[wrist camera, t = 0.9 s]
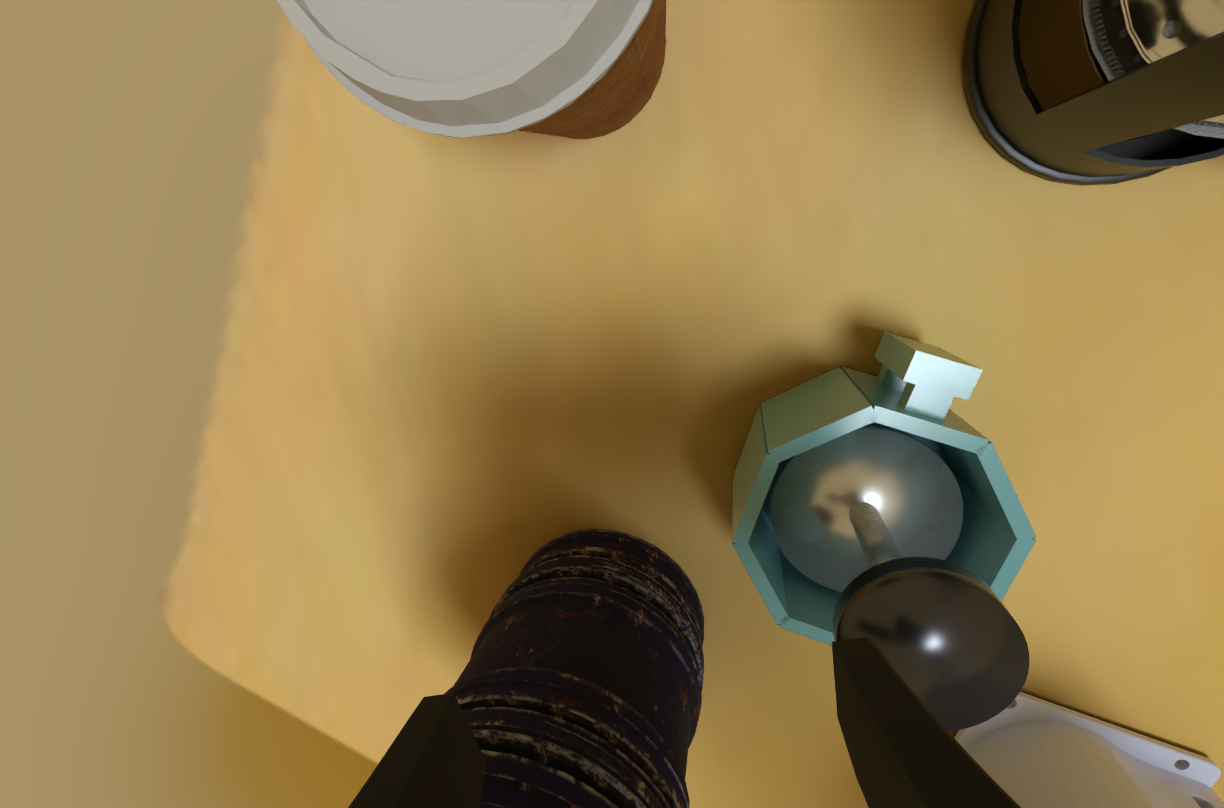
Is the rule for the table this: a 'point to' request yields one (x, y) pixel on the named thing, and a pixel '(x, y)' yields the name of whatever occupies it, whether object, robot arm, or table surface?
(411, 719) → the robot arm
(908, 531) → the plunger
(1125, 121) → the french press
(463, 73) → the disposable coffee cup
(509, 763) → the storage jar
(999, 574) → the carafe
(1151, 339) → the table surface
